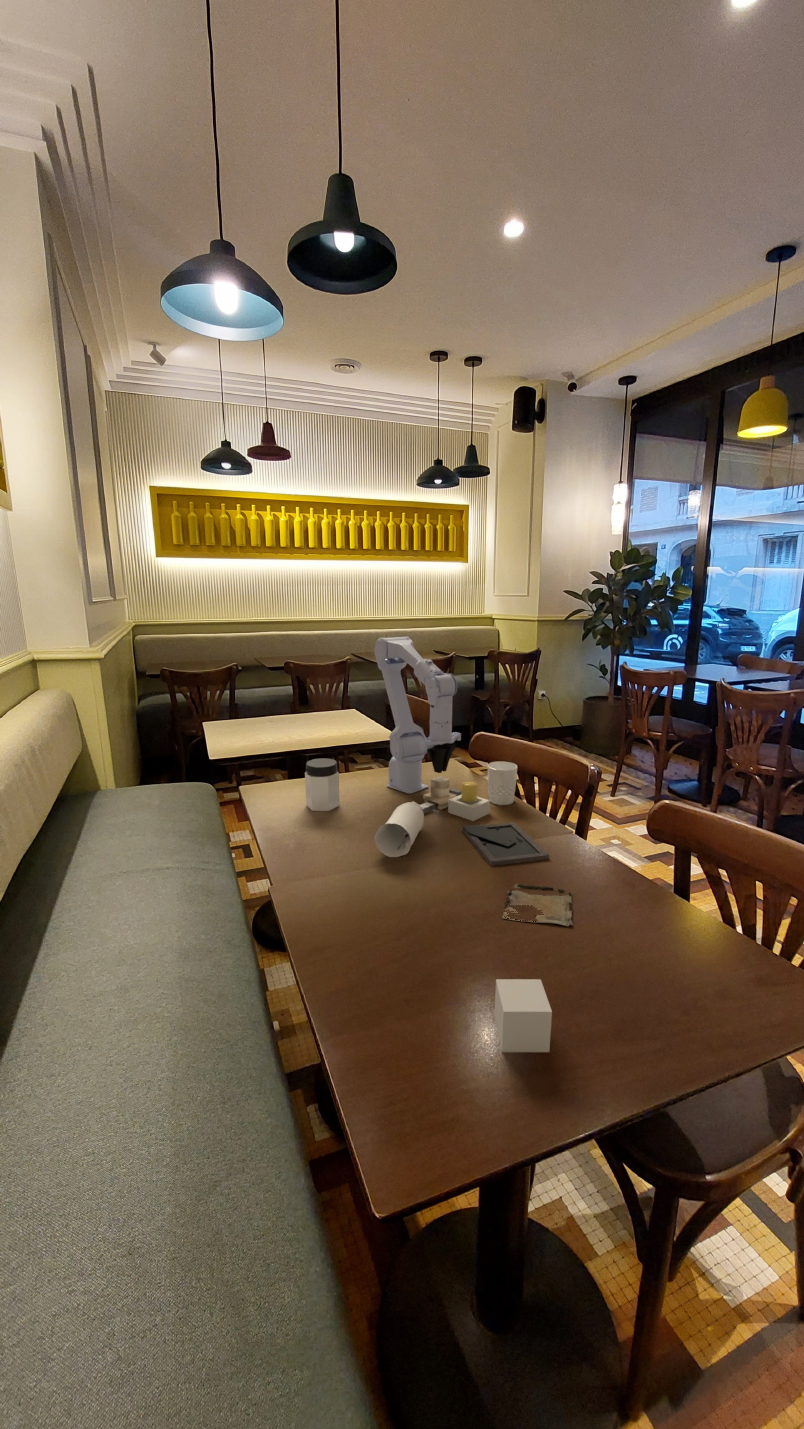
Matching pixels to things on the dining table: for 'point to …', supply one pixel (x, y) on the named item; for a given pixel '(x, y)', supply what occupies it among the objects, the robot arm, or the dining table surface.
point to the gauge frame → (469, 808)
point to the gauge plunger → (469, 791)
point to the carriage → (439, 792)
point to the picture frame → (504, 843)
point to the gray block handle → (432, 805)
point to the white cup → (501, 782)
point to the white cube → (522, 1015)
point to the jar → (322, 784)
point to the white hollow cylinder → (400, 830)
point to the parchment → (541, 905)
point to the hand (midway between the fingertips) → (440, 771)
